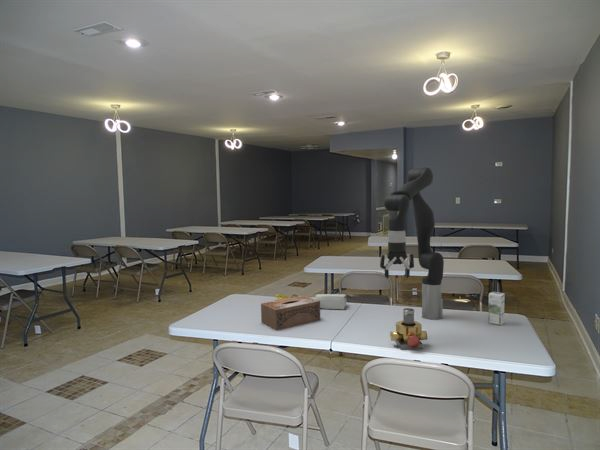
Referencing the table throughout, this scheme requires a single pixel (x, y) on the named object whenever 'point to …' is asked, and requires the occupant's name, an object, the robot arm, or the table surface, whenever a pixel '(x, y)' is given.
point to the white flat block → (331, 301)
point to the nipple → (408, 317)
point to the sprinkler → (285, 296)
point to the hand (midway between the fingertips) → (396, 277)
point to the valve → (408, 336)
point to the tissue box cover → (290, 312)
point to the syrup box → (496, 308)
